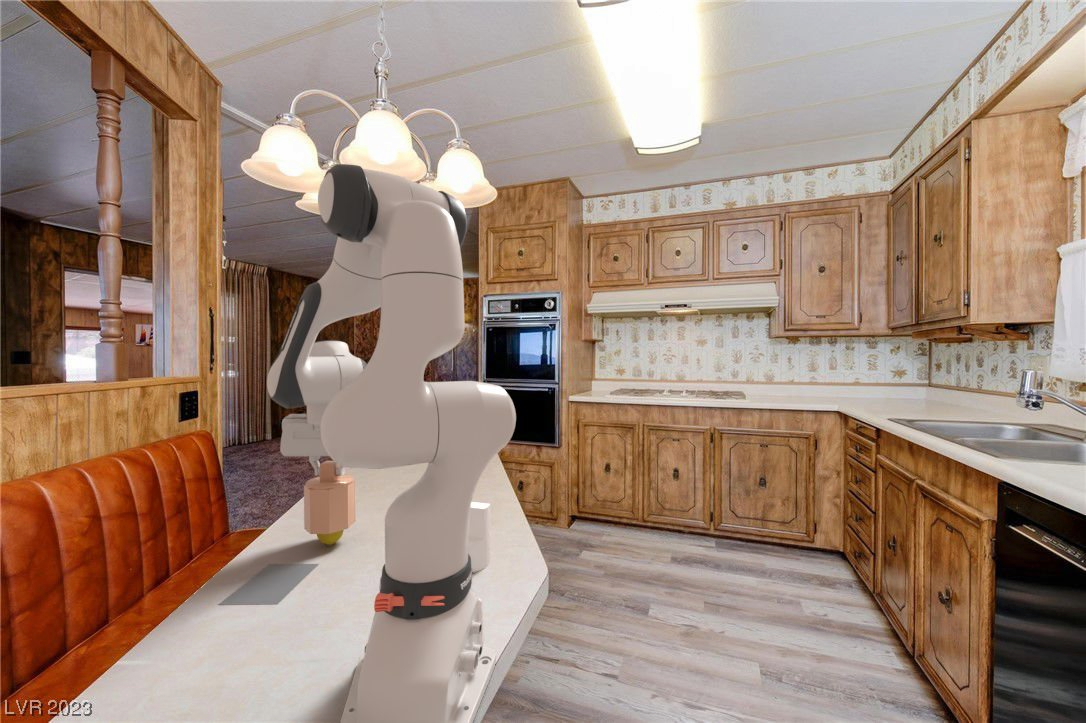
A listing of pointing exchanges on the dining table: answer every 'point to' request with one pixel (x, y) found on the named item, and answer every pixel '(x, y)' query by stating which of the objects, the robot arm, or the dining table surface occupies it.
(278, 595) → the mat
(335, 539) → the lemon
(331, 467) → the cloche
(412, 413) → the robot arm
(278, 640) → the dining table surface
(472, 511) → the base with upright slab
